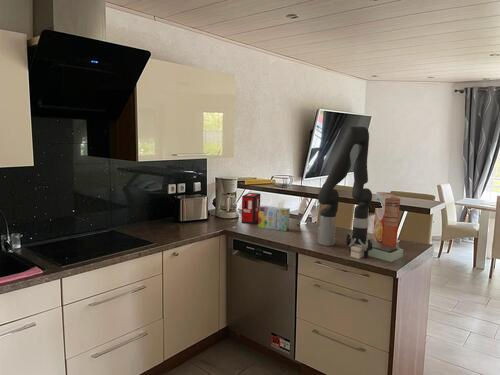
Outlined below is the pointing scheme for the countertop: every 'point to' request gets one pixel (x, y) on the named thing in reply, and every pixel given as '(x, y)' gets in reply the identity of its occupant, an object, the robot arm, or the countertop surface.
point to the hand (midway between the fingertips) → (358, 255)
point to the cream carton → (357, 251)
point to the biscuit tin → (384, 247)
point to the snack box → (274, 218)
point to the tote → (385, 254)
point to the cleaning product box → (250, 208)
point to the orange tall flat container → (386, 219)
